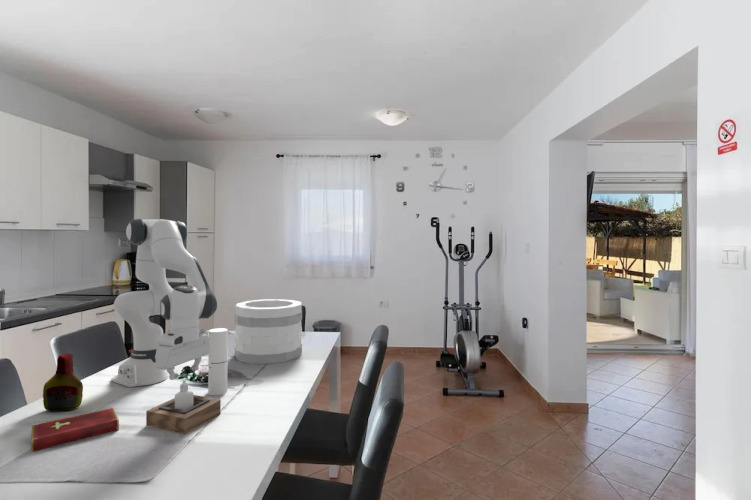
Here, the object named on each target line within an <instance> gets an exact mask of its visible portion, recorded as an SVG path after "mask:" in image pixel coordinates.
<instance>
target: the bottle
mask: <svg viewBox="0 0 751 500" xmlns="http://www.w3.org/2000/svg"><path fill="white" fill-rule="evenodd" d="M73 359H74V354H72V353H69V352H64V353H61V354H59V355H58V357H57V360H56V370H55V374H53V376H52V377H50V378H49V379H48V380H47V381H46V382H45V383H44V385H43V389H42V402H43V403H42V404H43V408H44V409H45V410H46V411H48V412H65V411H72V410H76V409H78V408H79V407H80V406H81V405H82V401H83V393H84V392H83V391H84V385H83V383H82V380H81V379H80V378H79V377H77V376H76V375H75V373H74V360H73Z"/></svg>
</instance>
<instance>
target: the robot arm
mask: <svg viewBox="0 0 751 500" xmlns="http://www.w3.org/2000/svg"><path fill="white" fill-rule="evenodd" d="M125 229H126V230H125V233H126V238H127V240H128V242H129V243H130V244H132V245H135V246H137V250H136V257H135V276H136V279H137V280H139V281H141V282H143V283H144V284H147V285H148V287H149V288H148V290H136V291H130V292H125V293H121V294H119V295H117V297H116V298H115V300H114V302H113V310H114V312H115V314H116V315H117V316H118V317H120V318H121V319H123V320H125V322H127V323H128V325H129V326H130V328H131V330H132V337H133V339H132V340H133V349H129V350H128V353H130V355H129V356H130V357H129V358H127V359H126V360H125V361H124V362H123V363H121V364H120V365H119V367H118V370H117V375H115V376H113V377H111V379H110V381H111V382H112V383H116V384H119V385H121V386H124V387H126V388H132V387H138V386H140V387H141V386H149V385H154V384H158V383H161V382H163V381H165V380H167V379H168V376H169V380H170V381H174V380H176V379H178V373H176V372H175V369H176V368H175V367H177V366H180V365H182V364H185V363H188V362H191V361H194V362H193V364H192V365H191V371H192V372H196V371H199V369H200V367H199V365H200V364H201V362H202V357H204V356H206V355H209V351H210V343H209V330H208V329H207V330H208V331H207V330H206V329H205V328H202V329H200V321H199V319H209V318H210V317H212V316H213V315H214V314H215V313H216V311H217V309H218V302H217V297H216V296H215V294H214V293H213V291H212V289H211V288H210V285H209V283H208V280H207V279H206V278H207V277H206V276H205V274H204V272H203V269H202V267H201V266H200V262H199V261H198V259H197V257H195V256H193V254H192V255H191V253H189V251H188V250H187V249H186V247H185V245H184V243H186V241H187V240H188V233H189V231H188V228H187V225H186V224H185V222H183V221H180V220H170V219H165V218H164V219H163V218H155V219H154V218H145V219H142V218H136V219H132V220H130V221H129V222H128V225H127V226H126V228H125ZM166 269H167V270H170V271H175V272H179V273H181V274H184V275H186V276H187V277H188V278H189V279H190V281H191V283H192V285H187V284H185V285H184V284H181V285H177V286H175V287H174V288H173V287H172V286H171V285H170V284H169V282H168V280H167V277H166V274H167V273H166V271H167V270H166ZM157 315H160V316H161V317H162V318H164V319H165V320H166V321H171V322H170V323H171V324H170V329H168V330H167V331H165V333H164V329H163V328H162V326H160V324H157V323H154V322H151V321H150V316H157Z"/></svg>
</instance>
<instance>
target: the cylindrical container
mask: <svg viewBox="0 0 751 500" xmlns="http://www.w3.org/2000/svg"><path fill="white" fill-rule="evenodd" d="M228 331H229V330H228V328H223V327H217V328H211V329H209V330H208V337H209V343H210V351H209V354H208V357H207V358H208V360H207V362H208V365H207V366H208V370H207V371H208V373H207V374H208V377H207V378H208V379H207V381H208V382H207V383H208V384H207V385H208V389H207V390H208V391H207V394H208V395H209V396H210V395H211V396H220V395H224V394H226V393H227V392H228V361H229V359H228V358H229V357H228V356H229V355H228V349H229V348H228V347H229V346H228V345H229V341H228V339H229V338H228V337H229V336H228Z"/></svg>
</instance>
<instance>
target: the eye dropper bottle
mask: <svg viewBox="0 0 751 500" xmlns="http://www.w3.org/2000/svg"><path fill="white" fill-rule="evenodd" d="M193 395H194V392H193V390H191V389H189V383H187V382H186V379H183V380H182V383H180V385H179V391H178V392H176V393H175V394H174V398H175V409H179V410H184V411H185V410H187V409H189V408H191V407H193Z"/></svg>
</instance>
